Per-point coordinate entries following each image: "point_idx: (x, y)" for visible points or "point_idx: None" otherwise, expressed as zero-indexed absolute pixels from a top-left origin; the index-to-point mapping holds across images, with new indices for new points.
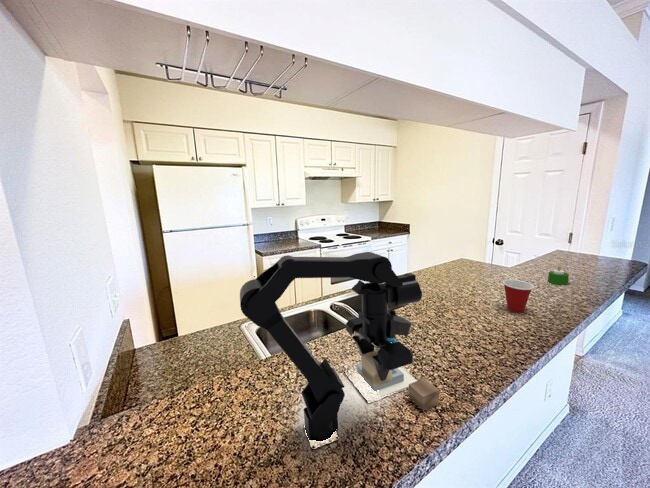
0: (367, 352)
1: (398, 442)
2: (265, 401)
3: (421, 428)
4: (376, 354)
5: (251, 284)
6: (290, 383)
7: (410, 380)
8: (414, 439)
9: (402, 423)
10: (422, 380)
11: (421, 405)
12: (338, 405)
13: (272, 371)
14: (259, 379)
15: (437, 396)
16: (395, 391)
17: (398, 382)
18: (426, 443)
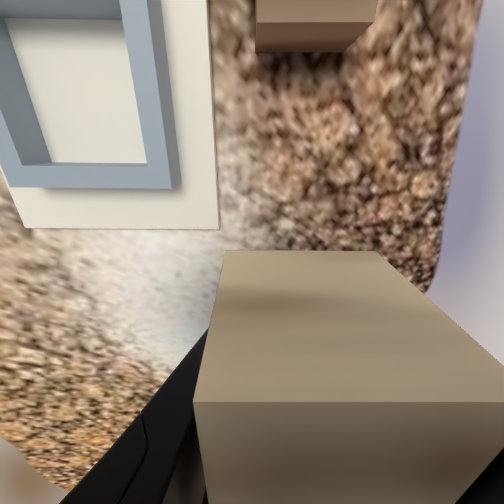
0: (194, 497)
1: (375, 225)
2: (124, 412)
3: (389, 125)
4: (286, 465)
5: None
6: (69, 367)
7: None
8: (399, 178)
9: (337, 172)
10: None
11: (341, 44)
12: None
13: (8, 389)
14: (41, 412)
15: None
16: (211, 95)
17: (163, 33)
18: (432, 154)
